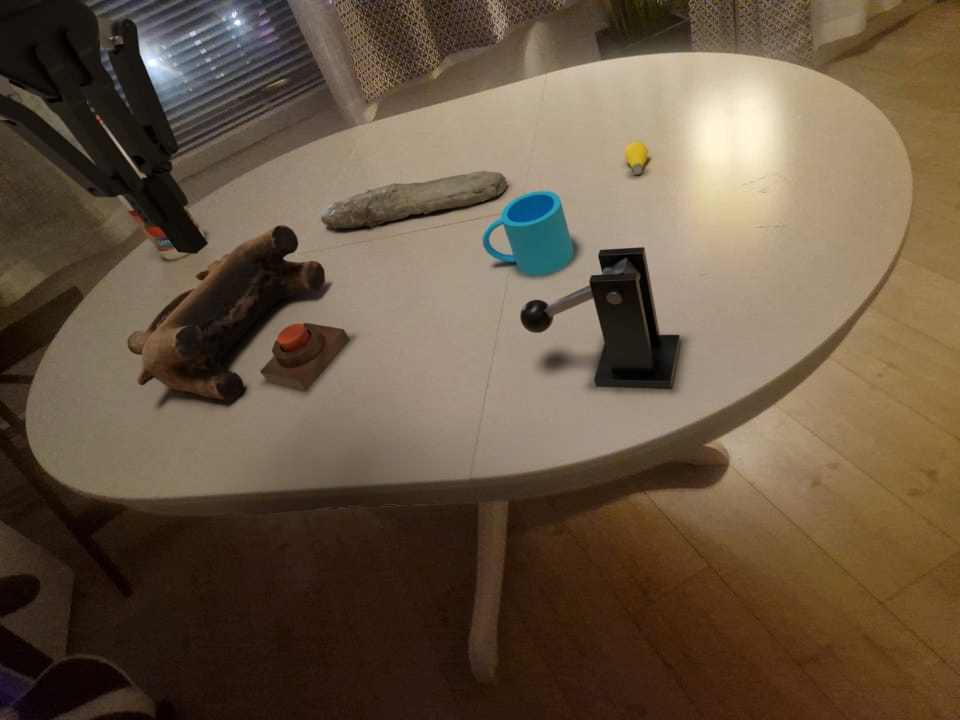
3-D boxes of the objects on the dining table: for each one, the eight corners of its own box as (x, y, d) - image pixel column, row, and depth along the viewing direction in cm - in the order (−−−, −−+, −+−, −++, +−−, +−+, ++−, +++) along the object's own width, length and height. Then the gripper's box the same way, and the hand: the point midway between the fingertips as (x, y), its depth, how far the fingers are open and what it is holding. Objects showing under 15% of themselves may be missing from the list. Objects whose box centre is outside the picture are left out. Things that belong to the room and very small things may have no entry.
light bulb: (644, 154, 102) (649, 136, 99) (646, 182, 99) (651, 165, 96) (623, 153, 102) (626, 136, 99) (624, 182, 100) (628, 164, 97)
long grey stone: (504, 213, 105) (513, 184, 113) (497, 183, 102) (507, 156, 109) (316, 239, 116) (335, 211, 123) (304, 213, 113) (324, 185, 120)
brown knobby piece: (291, 198, 96) (194, 222, 110) (163, 358, 80) (69, 361, 94) (341, 262, 104) (245, 276, 118) (235, 419, 88) (137, 414, 102)
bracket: (595, 387, 70) (568, 288, 61) (608, 342, 75) (584, 244, 66) (671, 389, 67) (653, 286, 58) (680, 342, 71) (665, 239, 62)
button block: (306, 391, 86) (292, 370, 83) (267, 382, 90) (252, 362, 88) (350, 340, 91) (337, 319, 89) (311, 333, 96) (298, 313, 93)
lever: (530, 343, 71) (509, 321, 70) (539, 321, 73) (519, 300, 72) (639, 298, 62) (617, 272, 60) (645, 274, 64) (624, 248, 62)
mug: (575, 235, 92) (562, 185, 87) (573, 270, 87) (559, 219, 81) (495, 251, 96) (477, 204, 91) (488, 285, 90) (469, 237, 85)
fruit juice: (196, 230, 139) (108, 105, 121) (212, 239, 132) (122, 109, 114) (158, 255, 135) (61, 130, 117) (173, 265, 129) (73, 135, 111)
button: (297, 354, 86) (291, 345, 85) (277, 350, 88) (271, 341, 87) (315, 334, 88) (309, 324, 87) (296, 330, 91) (290, 321, 89)
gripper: (33, -76, 47) (218, 204, 62) (-146, -4, 40) (112, 292, 55) (84, -102, 43) (269, 205, 58) (-106, -26, 36) (161, 300, 51)
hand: (192, 247), depth 56 cm, fingers closed
